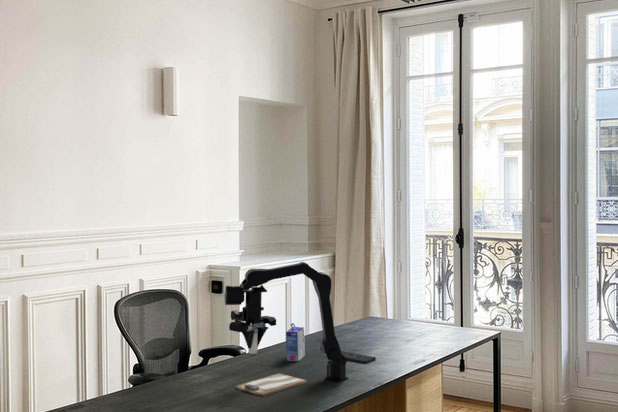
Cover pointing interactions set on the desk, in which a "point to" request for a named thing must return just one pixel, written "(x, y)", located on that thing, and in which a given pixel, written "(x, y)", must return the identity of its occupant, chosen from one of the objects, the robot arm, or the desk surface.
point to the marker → (254, 343)
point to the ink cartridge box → (295, 343)
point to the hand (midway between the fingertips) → (252, 347)
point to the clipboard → (271, 384)
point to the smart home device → (358, 357)
